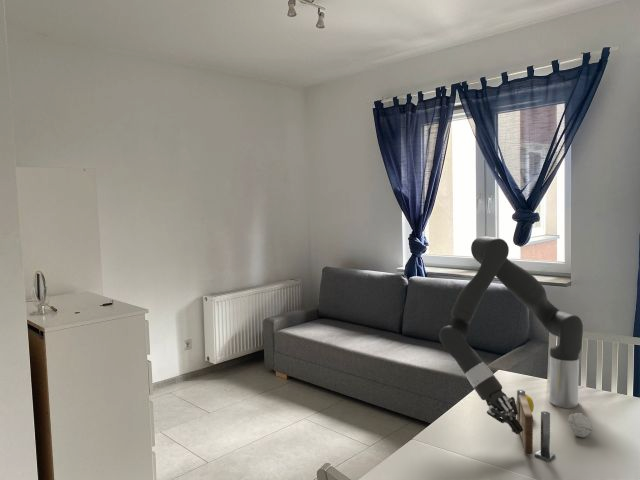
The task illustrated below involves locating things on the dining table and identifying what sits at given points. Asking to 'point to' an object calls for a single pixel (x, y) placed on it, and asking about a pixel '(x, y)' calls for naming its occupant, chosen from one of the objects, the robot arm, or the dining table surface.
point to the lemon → (529, 402)
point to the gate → (526, 424)
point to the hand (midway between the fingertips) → (520, 432)
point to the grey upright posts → (542, 433)
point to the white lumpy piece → (579, 424)
